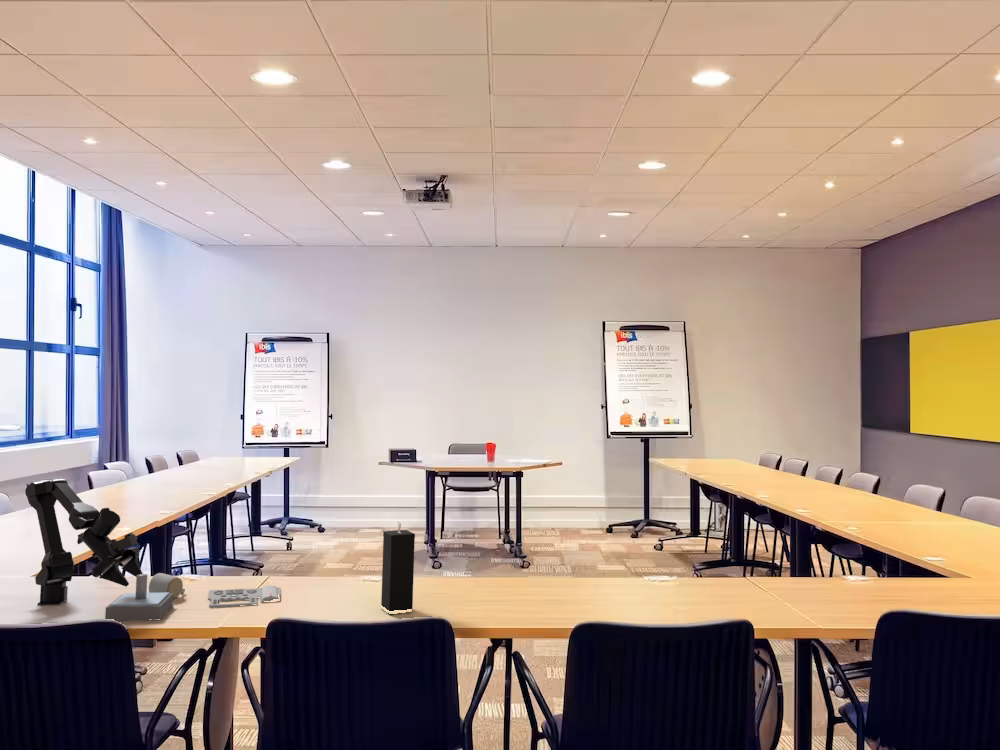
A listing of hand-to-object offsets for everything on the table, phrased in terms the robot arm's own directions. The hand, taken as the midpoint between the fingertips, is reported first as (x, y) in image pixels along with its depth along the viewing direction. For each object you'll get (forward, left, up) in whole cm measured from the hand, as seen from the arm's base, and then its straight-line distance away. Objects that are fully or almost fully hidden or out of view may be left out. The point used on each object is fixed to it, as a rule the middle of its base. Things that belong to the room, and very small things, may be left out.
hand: (135, 581), depth 224 cm
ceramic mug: (+5, +19, -10) cm, 22 cm away
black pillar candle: (+79, -4, -10) cm, 80 cm away
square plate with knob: (+2, 0, -5) cm, 6 cm away
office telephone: (+30, +16, -10) cm, 35 cm away
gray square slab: (+2, 0, -9) cm, 10 cm away
